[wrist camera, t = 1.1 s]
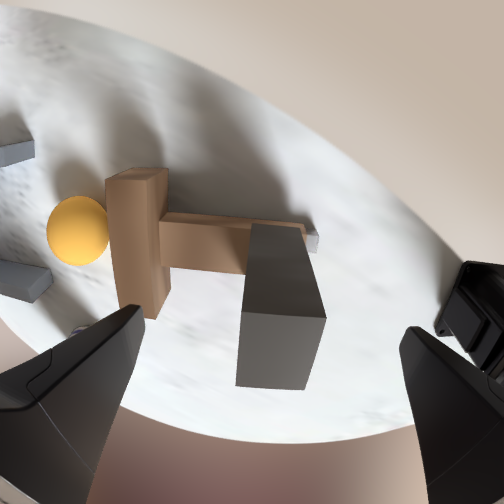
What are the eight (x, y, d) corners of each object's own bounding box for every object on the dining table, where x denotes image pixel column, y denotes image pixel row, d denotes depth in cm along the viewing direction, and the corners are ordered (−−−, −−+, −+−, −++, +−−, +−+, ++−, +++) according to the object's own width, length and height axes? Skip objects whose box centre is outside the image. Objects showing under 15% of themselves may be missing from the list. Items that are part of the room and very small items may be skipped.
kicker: (309, 179, 14) (360, 249, 7) (290, 300, 17) (303, 421, 9) (132, 167, 14) (25, 220, 6) (139, 284, 17) (77, 385, 9)
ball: (119, 188, 16) (83, 209, 12) (123, 251, 17) (94, 282, 14) (67, 188, 16) (28, 207, 12) (74, 245, 17) (41, 273, 14)
